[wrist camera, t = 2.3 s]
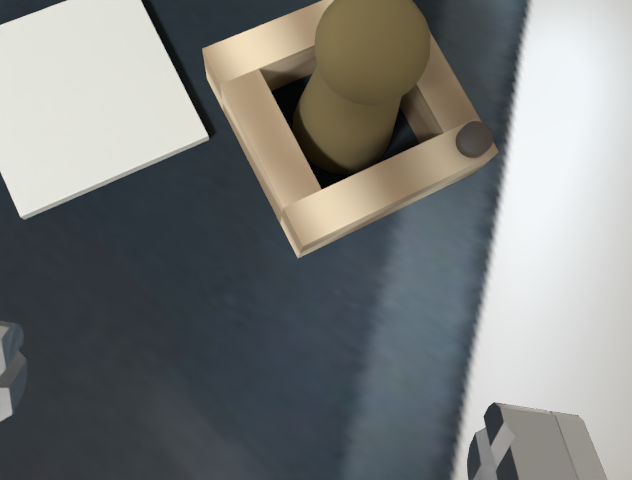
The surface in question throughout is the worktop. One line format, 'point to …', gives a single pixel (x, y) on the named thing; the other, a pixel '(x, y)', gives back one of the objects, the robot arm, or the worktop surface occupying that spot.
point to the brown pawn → (359, 81)
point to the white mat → (86, 101)
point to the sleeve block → (290, 163)
